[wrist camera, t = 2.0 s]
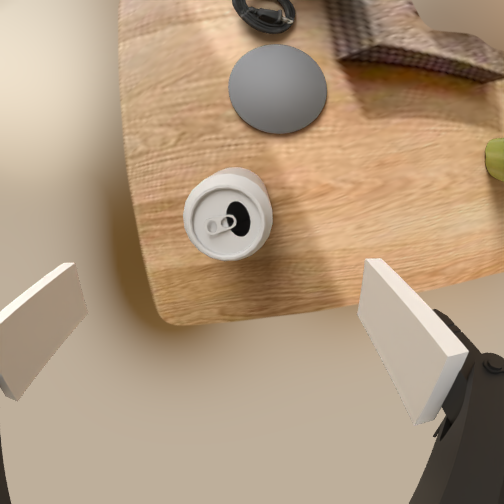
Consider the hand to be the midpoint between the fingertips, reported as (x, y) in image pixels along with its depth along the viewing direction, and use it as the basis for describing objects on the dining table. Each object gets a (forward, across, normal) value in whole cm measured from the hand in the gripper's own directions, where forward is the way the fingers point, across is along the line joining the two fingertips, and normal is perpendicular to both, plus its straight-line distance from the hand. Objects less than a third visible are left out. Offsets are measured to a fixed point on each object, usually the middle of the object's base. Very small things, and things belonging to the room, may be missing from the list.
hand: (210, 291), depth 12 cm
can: (+23, 0, 0) cm, 23 cm away
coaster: (+23, +5, +13) cm, 27 cm away
